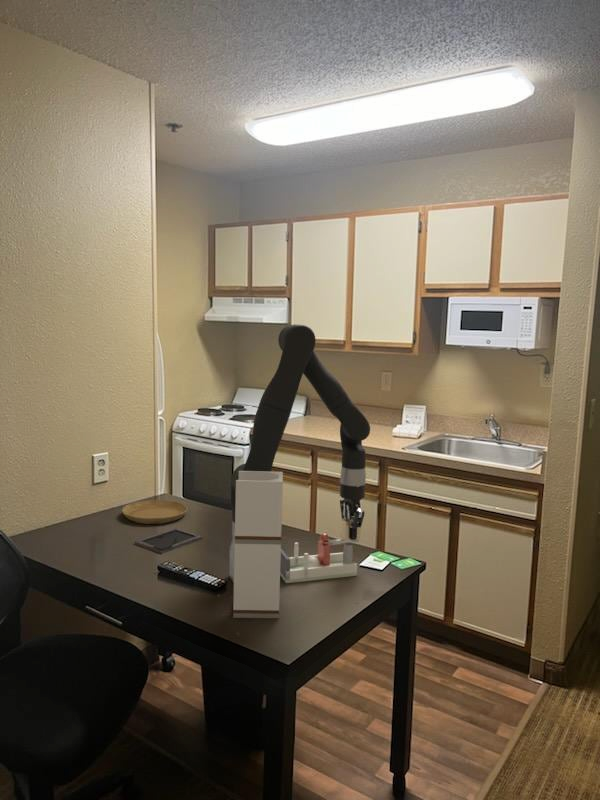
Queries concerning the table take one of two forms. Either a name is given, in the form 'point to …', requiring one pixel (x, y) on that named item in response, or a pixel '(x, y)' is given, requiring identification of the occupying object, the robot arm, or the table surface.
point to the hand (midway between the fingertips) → (350, 537)
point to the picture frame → (168, 540)
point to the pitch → (299, 571)
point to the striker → (334, 542)
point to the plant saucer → (154, 511)
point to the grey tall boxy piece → (257, 544)
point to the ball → (313, 562)
